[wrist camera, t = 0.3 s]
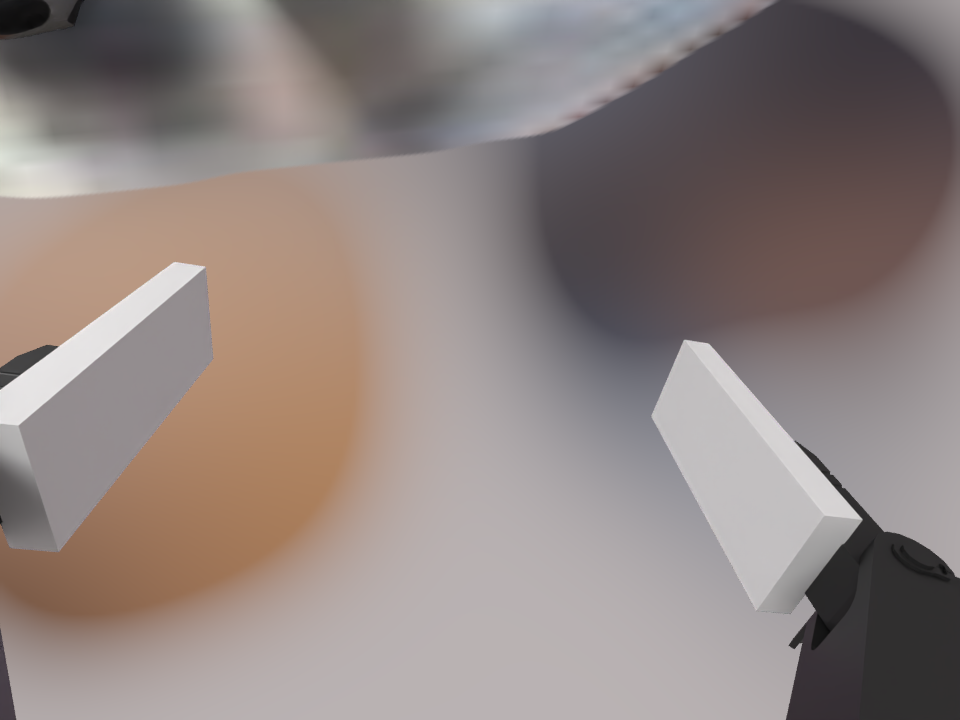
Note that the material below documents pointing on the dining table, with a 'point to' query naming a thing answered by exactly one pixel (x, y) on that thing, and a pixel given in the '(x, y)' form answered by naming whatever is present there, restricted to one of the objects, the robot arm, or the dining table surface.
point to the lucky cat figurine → (36, 16)
